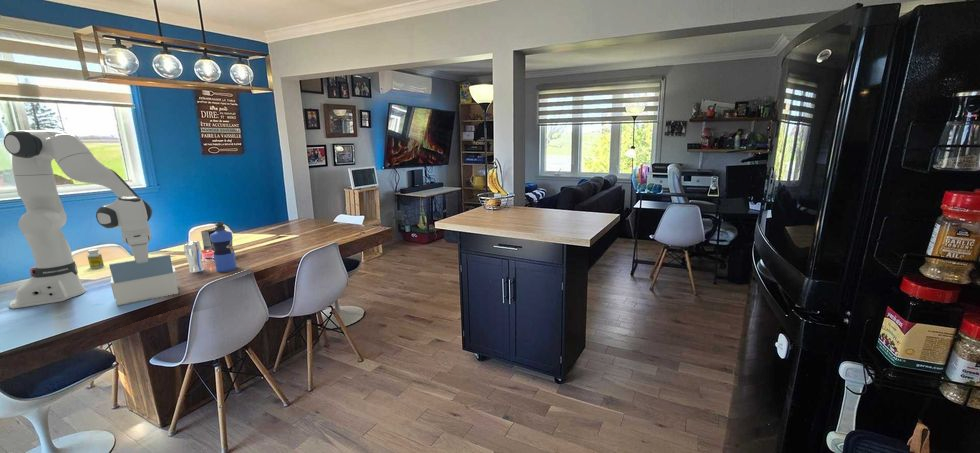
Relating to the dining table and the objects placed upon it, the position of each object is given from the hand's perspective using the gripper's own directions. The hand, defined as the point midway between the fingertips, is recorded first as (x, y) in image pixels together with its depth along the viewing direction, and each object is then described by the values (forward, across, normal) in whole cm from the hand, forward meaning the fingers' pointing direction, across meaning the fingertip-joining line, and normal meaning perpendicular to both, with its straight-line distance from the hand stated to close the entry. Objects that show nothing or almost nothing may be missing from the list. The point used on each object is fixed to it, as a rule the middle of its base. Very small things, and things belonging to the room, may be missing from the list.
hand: (143, 268), depth 168 cm
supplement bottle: (+16, -80, -18) cm, 84 cm away
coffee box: (+15, -57, +32) cm, 67 cm away
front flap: (0, +1, 0) cm, 1 cm away
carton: (+14, -7, 0) cm, 16 cm away
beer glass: (+15, -33, +20) cm, 42 cm away
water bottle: (+14, -25, +32) cm, 43 cm away
